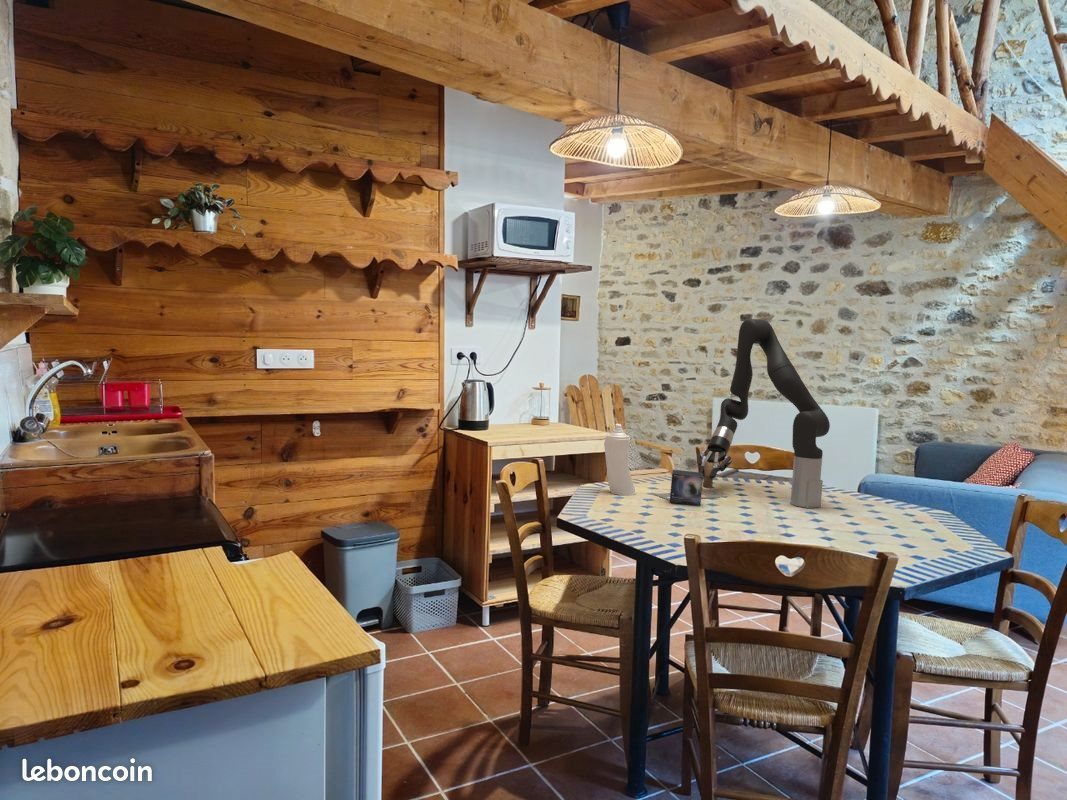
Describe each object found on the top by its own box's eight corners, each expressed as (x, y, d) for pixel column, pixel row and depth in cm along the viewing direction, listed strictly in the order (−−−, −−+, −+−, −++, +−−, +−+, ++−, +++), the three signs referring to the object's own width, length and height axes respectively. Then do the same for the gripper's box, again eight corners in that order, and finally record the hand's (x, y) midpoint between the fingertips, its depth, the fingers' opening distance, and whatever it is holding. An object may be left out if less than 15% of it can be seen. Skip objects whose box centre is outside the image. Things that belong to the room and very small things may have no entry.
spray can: (613, 496, 246) (617, 426, 244) (597, 490, 256) (600, 422, 254) (640, 494, 252) (644, 425, 250) (623, 488, 261) (627, 422, 259)
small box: (669, 502, 240) (671, 472, 238) (669, 498, 246) (672, 469, 245) (700, 506, 237) (703, 476, 236) (700, 501, 244) (703, 472, 242)
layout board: (727, 497, 253) (727, 496, 253) (669, 500, 243) (669, 500, 243) (710, 491, 262) (710, 490, 262) (653, 494, 253) (653, 493, 253)
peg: (714, 487, 257) (715, 463, 257) (706, 488, 256) (708, 463, 255) (708, 485, 261) (710, 461, 260) (700, 486, 259) (702, 462, 258)
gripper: (701, 432, 267) (685, 468, 258) (736, 437, 258) (722, 474, 250) (705, 445, 271) (690, 480, 263) (741, 449, 263) (726, 486, 254)
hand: (706, 477), depth 256 cm, fingers closed on peg, 3 cm apart
